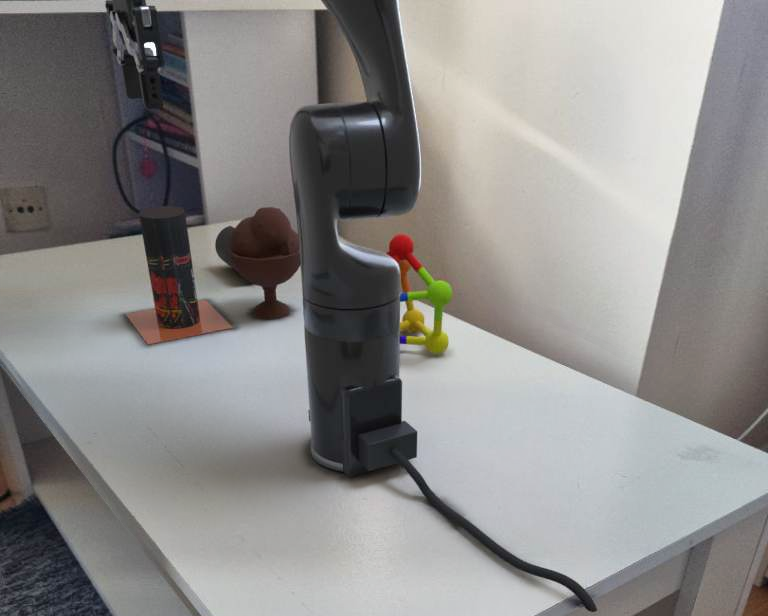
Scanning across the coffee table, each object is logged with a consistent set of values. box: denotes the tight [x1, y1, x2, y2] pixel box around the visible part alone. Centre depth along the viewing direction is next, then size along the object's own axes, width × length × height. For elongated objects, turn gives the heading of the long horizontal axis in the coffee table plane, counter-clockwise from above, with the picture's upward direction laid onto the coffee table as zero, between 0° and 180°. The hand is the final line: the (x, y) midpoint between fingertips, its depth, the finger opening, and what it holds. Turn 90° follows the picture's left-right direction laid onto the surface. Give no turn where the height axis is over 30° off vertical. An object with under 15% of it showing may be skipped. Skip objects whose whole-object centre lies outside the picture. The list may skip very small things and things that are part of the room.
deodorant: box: [138, 205, 200, 329], centre depth 110 cm, size 6×6×15 cm
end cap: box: [214, 225, 236, 270], centre depth 129 cm, size 10×7×7 cm
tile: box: [125, 299, 234, 346], centre depth 115 cm, size 12×12×1 cm
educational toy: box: [384, 233, 453, 355], centre depth 103 cm, size 16×13×15 cm
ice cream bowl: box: [226, 206, 301, 320], centre depth 113 cm, size 11×11×15 cm
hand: (144, 103), depth 98 cm, fingers open, 8 cm apart
